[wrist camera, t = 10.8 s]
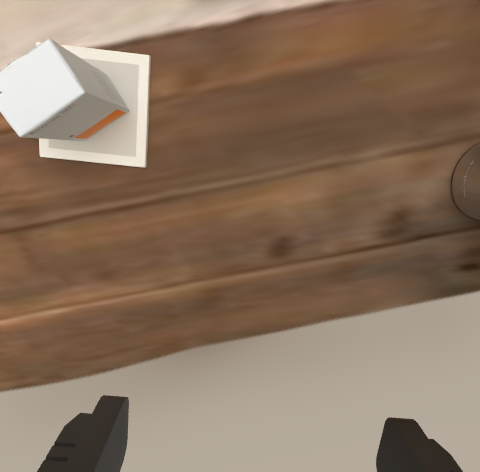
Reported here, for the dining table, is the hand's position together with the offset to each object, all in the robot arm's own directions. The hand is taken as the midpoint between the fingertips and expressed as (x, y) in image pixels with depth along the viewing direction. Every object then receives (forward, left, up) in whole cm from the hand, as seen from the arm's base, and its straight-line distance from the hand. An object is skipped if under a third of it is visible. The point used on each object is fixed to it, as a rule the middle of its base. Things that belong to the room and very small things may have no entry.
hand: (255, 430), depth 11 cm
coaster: (+16, -11, -30) cm, 36 cm away
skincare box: (+16, -11, -29) cm, 35 cm away
